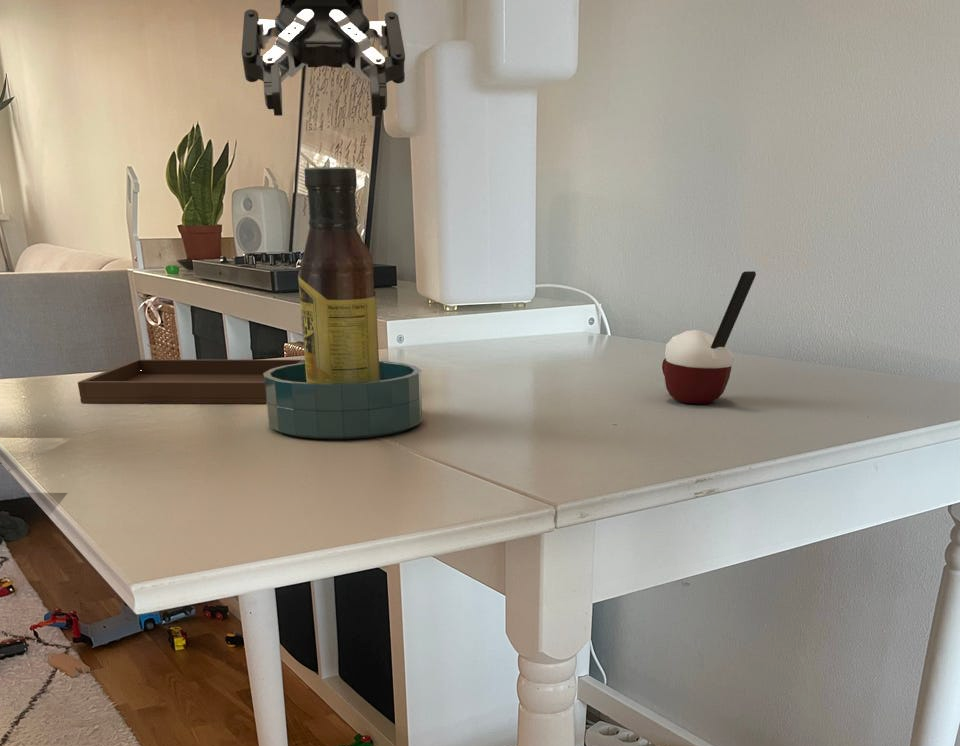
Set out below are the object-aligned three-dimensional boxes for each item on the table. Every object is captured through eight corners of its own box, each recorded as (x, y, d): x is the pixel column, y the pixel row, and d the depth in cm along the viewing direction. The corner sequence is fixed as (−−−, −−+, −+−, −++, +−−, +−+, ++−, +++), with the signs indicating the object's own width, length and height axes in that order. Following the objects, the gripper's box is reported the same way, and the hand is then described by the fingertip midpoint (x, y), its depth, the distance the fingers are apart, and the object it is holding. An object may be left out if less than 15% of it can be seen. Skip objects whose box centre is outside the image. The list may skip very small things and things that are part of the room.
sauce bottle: (317, 413, 87) (299, 168, 79) (386, 413, 87) (375, 168, 79) (302, 428, 81) (281, 165, 73) (376, 428, 81) (363, 165, 73)
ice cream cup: (648, 394, 97) (657, 266, 92) (708, 392, 98) (719, 265, 93) (683, 413, 88) (694, 272, 83) (748, 410, 89) (763, 271, 84)
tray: (80, 403, 94) (77, 382, 93) (138, 377, 108) (135, 359, 107) (276, 403, 93) (274, 382, 93) (309, 378, 107) (307, 359, 106)
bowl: (251, 440, 79) (245, 384, 77) (288, 409, 91) (283, 359, 89) (413, 441, 78) (411, 384, 76) (428, 409, 90) (427, 360, 88)
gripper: (236, -65, 86) (237, 68, 80) (397, -61, 88) (409, 69, 82) (247, 16, 93) (249, 143, 87) (396, 18, 95) (408, 143, 89)
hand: (327, 107), depth 85 cm, fingers open, 8 cm apart
